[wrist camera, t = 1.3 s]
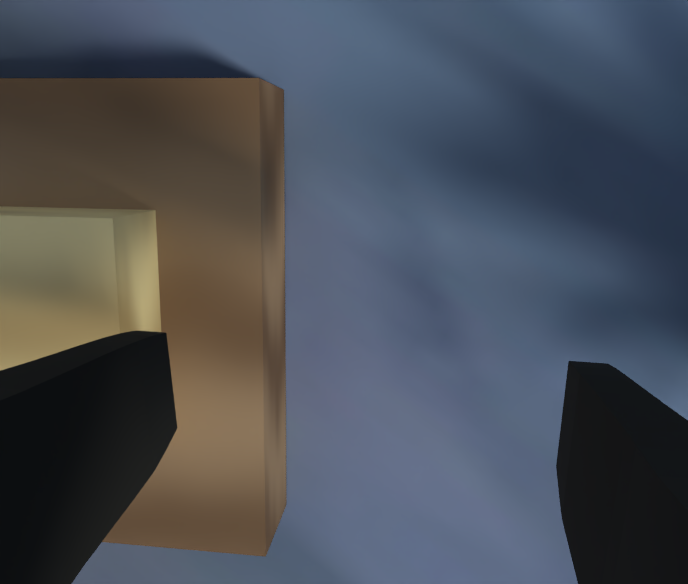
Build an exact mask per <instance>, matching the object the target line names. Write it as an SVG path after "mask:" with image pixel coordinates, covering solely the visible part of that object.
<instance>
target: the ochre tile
mask: <svg viewBox="0 0 688 584" xmlns="http://www.w3.org/2000/svg"><path fill="white" fill-rule="evenodd" d="M130 331H151V332H161V315H160V294H159V273H158V252H157V232H156V211H155V210H130V209H89V208H48V207H7V206H0V371H1V370H4V369H7V368H11V367H14V366H17V365H20V364H24V363H27V362H30V361H33V360H36V359H39V358H42V357H46V356H49V355H52V354H55V353H58V352H61V351H64V350H67V349H70V348H73V347H76V346H79V345H82V344H85V343H88V342H91V341H95V340H98V339H101V338H105V337H108V336H112V335H116V334H120V333H124V332H130Z"/></svg>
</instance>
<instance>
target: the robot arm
mask: <svg viewBox="0 0 688 584" xmlns="http://www.w3.org/2000/svg"><path fill="white" fill-rule="evenodd" d="M176 430H177V420H176V411H175V402H174V394H173V385H172V376H171V368H170V359H169V351H168V342H167V333H165V332H151V331H130V332H124V333H120V334H116V335H112V336H108V337H105V338H101V339H98V340H95V341H91V342H88V343H85V344H82V345H79V346H76V347H73V348H70V349H67V350H64V351H61V352H58V353H55V354H52V355H49V356H46V357H42V358H39V359H36V360H33V361H30V362H27V363H24V364H20V365H17V366H14V367H11V368H7V369H4V370H1V371H0V584H71V583H72V582H73V580H74V579H75V578H76V576H77V575H78V573H79V572H80V570H81V569H82V567H83V566H84V565H85V563H86V562H87V561H88V559H89V558H90V557H91V555H92V554H93V553H94V551H95V550H96V549H97V548H98V546H99V545H100V544H101V542H102V541H103V540H104V538H105V537H106V536H107V534H108V533H109V532H110V530H111V529H112V528H113V526H114V525H115V524H116V522H117V521H118V520H119V518H120V517H121V516H122V514H123V513H124V512H125V511H126V509H127V508H128V507H129V505H130V504H131V503H132V501H133V500H134V499H135V497H136V496H137V494H138V493H139V492H140V490H141V489H142V488H143V486H144V485H145V484H146V482H147V481H148V479H149V478H150V477H151V475H152V474H153V472H154V471H155V469H156V468H157V466H158V464H159V462H160V461H161V459H162V457H163V455H164V453H165V452H166V450H167V448H168V446H169V444H170V442H171V440H172V438H173V436H174V434H175V432H176ZM556 468H557V478H558V488H559V497H560V506H561V514H562V520H563V524H564V529H565V533H566V537H567V541H568V545H569V549H570V553H571V557H572V561H573V565H574V569H575V573H576V577H577V581H578V584H688V420H686V419H685V418H683V417H682V416H681V415H679V414H678V413H676V412H675V411H673V410H672V409H671V408H669V407H668V406H667V405H665V404H664V403H662V402H661V401H660V400H658V399H657V398H656V397H654V396H653V395H652V394H650V393H649V392H648V391H646V390H645V389H643V388H642V387H641V386H639V385H638V384H637V383H635V382H634V381H633V380H631V379H630V378H629V377H627V376H626V375H625V374H623V373H622V372H620V371H619V370H617V369H616V368H614V367H613V366H611V365H609V364H604V363H590V362H576V361H569V363H568V371H567V380H566V388H565V397H564V405H563V414H562V422H561V431H560V439H559V448H558V456H557V465H556Z"/></svg>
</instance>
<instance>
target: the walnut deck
mask: <svg viewBox="0 0 688 584" xmlns="http://www.w3.org/2000/svg"><path fill="white" fill-rule="evenodd" d="M0 206H7V207H48V208H89V209H130V210H155V211H156V232H157V252H158V273H159V294H160V315H161V332H165V333H167V342H168V351H169V359H170V368H171V376H172V385H173V394H174V402H175V411H176V420H177V430H176V432H175V434H174V436H173V438H172V440H171V442H170V444H169V446H168V448H167V450H166V452H165V453H164V455H163V457H162V459H161V461H160V462H159V464H158V466H157V468H156V469H155V471H154V472H153V474H152V475H151V477H150V478H149V479H148V481H147V482H146V484H145V485H144V486H143V488H142V489H141V490H140V492H139V493H138V494H137V496H136V497H135V499H134V500H133V501H132V503H131V504H130V505H129V507H128V508H127V509H126V511H125V512H124V513H123V514H122V516H121V517H120V518H119V520H118V521H117V522H116V524H115V525H114V526H113V528H112V529H111V530H110V532H109V533H108V534H107V536H106V537H105V538H104V540H103V541H102V542H109V543H121V544H132V545H143V546H154V547H166V548H177V549H188V550H199V551H211V552H222V553H233V554H244V555H256V556H266V554H267V552H268V549H269V547H270V544H271V542H272V539H273V537H274V534H275V532H276V529H277V527H278V524H279V522H280V519H281V517H282V514H283V512H284V509H285V507H286V374H285V211H284V90H283V89H281V88H279V87H277V86H275V85H273V84H270V83H268V82H266V81H264V80H262V79H260V78H0Z"/></svg>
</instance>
